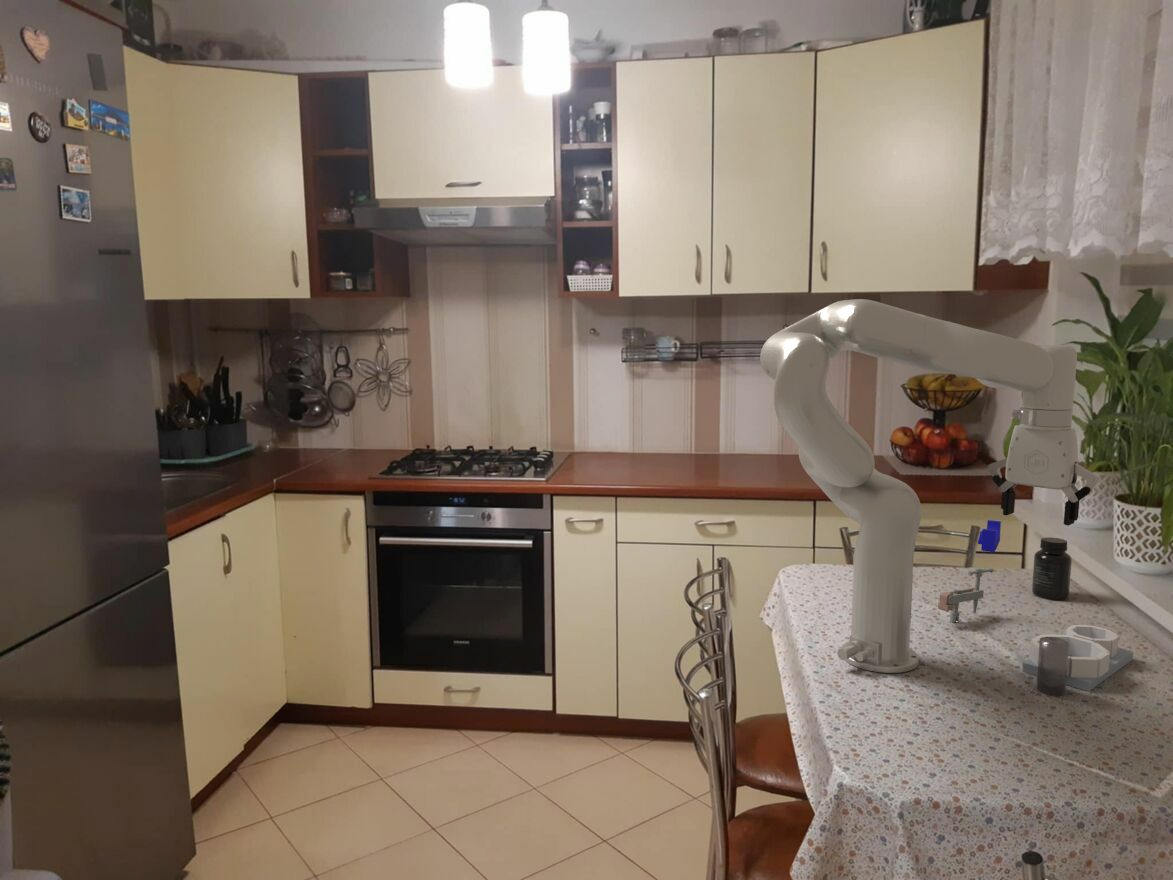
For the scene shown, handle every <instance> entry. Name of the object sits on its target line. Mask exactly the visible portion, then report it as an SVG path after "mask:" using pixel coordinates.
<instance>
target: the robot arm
mask: <svg viewBox="0 0 1173 880" xmlns="http://www.w3.org/2000/svg"><path fill="white" fill-rule="evenodd" d="M844 351H852V352H855V353H856V352H857V353H860V354H864V355H868V356H871V357H874V358H878V359H882V360H884V361H885V360H886V361H889V362H891V363H896V364H901V365H903V366H908V367H909V368H910V367H911V368H914V369H918V370H922V371H927V372H931V373H937V374H948V375H958V376H962V377H963V376H964V377H968V378H973V379H975V380H977V381H978V382H979V383H980V384H982V385H984V386H986V387H989V388H993V389H999V390H1010V391H1016V392H1021V393H1022V398H1021V399H1022V400H1021V407H1020V408H1019V409H1014V410H1013V411H1012V418H1014V419H1015V418H1016V419H1018V422H1019V424H1017V425H1016V424H1015V425H1014V428H1013V430H1012V434H1011V437H1010V442H1009V446H1008V451H1007V452H1008V453H1007V457H1006V458H1004V459H1000V460H998V461H995V462H991V463H990V464H988V465H987V469H988V471H989V473H990V476H991V477H992V479H991V480H992V481H993V482H994V484H995V485H996V486H997V487H998V489H999V491H1000V492H1001V503H1000V508H1001V510H1002V515H1003V516H1009V515H1012V514H1014V513H1015V506H1016V494H1017V493H1016V491H1015V490H1014V488H1015V487H1016V486H1017V485H1021V486H1027V487H1035V488H1043V489H1048V490H1049V489H1050V490H1056V491H1057V490H1059V491H1060V490H1061V491H1062V492H1063V493H1064V495H1065V496H1066V497H1067V501H1066V502H1065V503H1064V512H1063V513H1064V515H1063V525H1064V526H1070V525H1074V523H1075V521H1078V519H1079V512H1080V511H1079V510H1080V501H1081V500H1083V499H1084V498H1085V497H1086V496H1088V495H1090V494H1091V493H1092V492H1093V490H1095V488H1096V487H1097V485H1098V484H1099V482H1100V481H1101V477H1100V476H1099V475H1097V474H1095V473H1093V472H1091V471H1090V470H1088V468H1086V467H1084V466H1082V465H1080V464H1079V454H1078V453H1079V449H1078V438H1077V431H1076V429H1075V428H1072V422H1073V409H1074V399H1075V398H1074V397H1075V389H1076V387H1075V386H1076V385H1075V383H1076V375H1077V365H1078V364H1077V363H1078V352H1077V350H1076V349H1075V347H1073V346H1070V345H1065V344H1064V345H1061V344H1060V345H1059V344H1035V343H1031V342H1028V341H1025V340H1022V339H1017V338H1015V337H1014V338H1013V337H1011V336H1007V335H1005V334H1004V335H1003V334H999V333H996V332H995V333H994V332H990V331H987V330H982V329H976V328H975V327H974V328H973V327H971V326H970V327H969V326H966V325H964V324H963V325H962V324H959V323H955V322H952V321H947V320H943V319H939V318H935V317H933V316H932V317H931V316H927V315H925V314H922V313H917V312H914V311H910V310H907V309H902V308H900V307H897V306H893V305H890V304H886V303H882V302H879V301H875V300H871V299H866V298H865V299H864V298H860V299H859V298H857V299H856V298H855V299H844V300H837V301H836V302H834V303H830V304H829V305H827V306H825V307H823V308H821V309H819V310H817V311H815V312H814V313H812V314H810V315H808V316H806V317H804V318H802V319H801V320H798V321H796V322H794V323H793V324H791V325H789V326H787V327H785V328H783V329H781V330H779V331H777V332H776V333H774V334H773V335H771V336H770V337H769V338H768V339H767V340H766V341H765V343H764V344H763V346H762V348H761V350H760V354H759V356H760V357H759V360H760V364H761V368H762V370H763V371H764V373H765V374H766V375H767V376H768V377H769V378H771V379H772V380H775V381H774V385H773V403H774V404H773V406H774V411H775V414H776V417H777V419H778V421H779V423H780V425H781V426H782V428H783V429H784V430H785V432H786V433H787V434H788V436H789V437H790V438H791V440H792V441H794V443H795V444H796V445H797V447H798V458H799V462H800V464H801V467H802V468H803V470H804V471H805V473H806V474H807V475H808V477H809V478H811V480H812V481H813V482H814V483H815V484H816V485H817V486H818V487H819V488H820V489H821V490H822V492H823V493H824V494H825V495H826V497H828V499H830V501H832V503H833V504H834V505H835V506H836V507H837V508H838V509H839V510H840V512H842V514H844V515H845V516H847V518H850V519H851V520H852V521H855V522H857V523H858V524H859V531H858V535H857V538H856V542H855V546H854V549H853V550H854V551H853V560H852V561H853V563H852V564H853V565H852V569H853V573H852V575H853V576H852V598H851V599H852V603H851V626H850V635H849V639H848V641H847V642H845V643H844V644H842V645H841V647H840V648H839V649H837V652H836V653H837V654H836V655H837V658H839V660H840V661H845V662H846V663H848V664H849V665H852V666H853V667H855V668H859V669H862V670H865V671H870V672H875V673H883V674H896V673H897V674H898V673H899V674H900V673H906V672H910V671H912V670H914V669H917V667H918V665H919V660H920V659H919V657H920V656H919V654H918V653H917V652H916V651H915V650H914V649H912V648H910V644H911V643H910V641H911V623H912V621H911V620H912V599H913V581H914V561H915V560H914V557H915V547H916V542H917V536H918V532H919V527H920V526H921V525H920V523H921V520H922V504H921V502H920V501H921V500H920V498H919V497H918V495H917V493H916V492H915V490H914V489H913V488H912V487H910V485H908V483H906V482H904V481H902V480H900V479H898V478H895V477H893V476H891V475H888V474H884V473H882V472H880V471H878V470H877V469H876V468H875V465H876V463H875V456H874V452H873V451H872V449H871V447H870V446H869V444H868V443H867V441H866V440H865V439H864V438H863V437H862V436H861V435H860V434H859V433H858V432H857V431H856V430H855V429H854V427H852V426H851V424H850V423H849V422H848V421H847V420H846V419H845V418H844V417H843V416H842V415H841V414H840V412H839V411H838V409H837V408H836V407H835V406H834V405H833V403H832V401H831V400H830V399H829V396H828V394H827V385H826V384H827V377H828V374H829V370H830V365H831V359H833V358H834V357H836V356H837V355H839V354H841V353H843V352H844ZM1004 467H1005V476H1003V474H1002V473H1001V469H1002V468H1004ZM1078 476H1079V477H1080V478H1082V479H1084V480H1085V481H1086V483H1085V484H1084V486H1083V487H1082V488H1080V489H1078V487H1077V486H1076V483H1077V481H1078Z"/></svg>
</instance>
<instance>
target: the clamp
mask: <svg viewBox="0 0 1173 880" xmlns="http://www.w3.org/2000/svg"><path fill="white" fill-rule="evenodd" d="M974 569H975V570H968V572H967V574H968V576H973V575H974V576H975V584H974V587H970V588H969V587H968V588H964V589H963V588H962V589H954V590H952V591H944V592H941V593H940V594H939V602H938V605H937V609H938V610H941V611H943V612H948V613H949V611H951V612H950V617H949V622H950V623H953V622H956V621H959V620H960V612H959V606H960V603H965V602H970V601H972V602H973V603H972V608H973V609H972V613H974V614H975V613H977V607H978V604H979V603H978V602H979V600H980V599H983V598H984V590H983V589H980V585H981V577H982V576H983V574H984V573H993V572H994V571H995V570H994V568H993V567H990V568H988V569H983V568H982V567H975V568H974Z"/></svg>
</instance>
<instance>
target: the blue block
mask: <svg viewBox="0 0 1173 880" xmlns="http://www.w3.org/2000/svg"><path fill="white" fill-rule="evenodd" d="M1001 526H1002V521H1000V520H991V519H988V520H987V522H986V528H982V530H980V532H979V535H978V536H979V537H978V540H977V544H978V545H981V548H980V550H981V551H983V552H989V553H995V552H996V550H997V548H998V546H999V543H1000V542H1001V528H1002V527H1001Z"/></svg>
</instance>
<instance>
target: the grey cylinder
mask: <svg viewBox="0 0 1173 880" xmlns="http://www.w3.org/2000/svg"><path fill="white" fill-rule="evenodd" d="M1068 653H1069V643H1068V642H1067V641H1066V640H1063V639H1060V638H1056V637H1042V638H1040V643H1039V657H1038V671H1037V676H1036V687H1035V689H1036V691H1039V693H1042V694H1044V695H1048V696H1052V697H1054V696H1055V697H1061V696H1064V695H1066V692H1067V685H1066V679H1067V666H1068Z"/></svg>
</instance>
